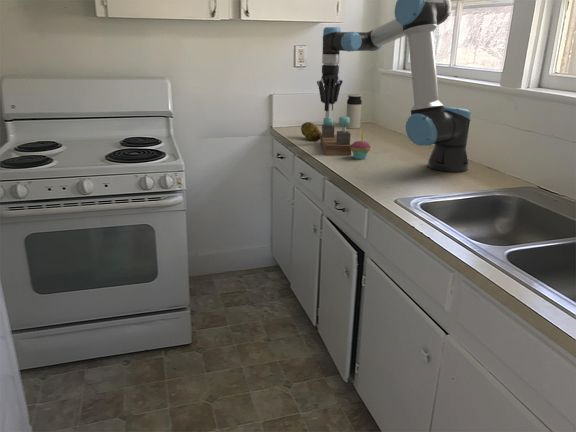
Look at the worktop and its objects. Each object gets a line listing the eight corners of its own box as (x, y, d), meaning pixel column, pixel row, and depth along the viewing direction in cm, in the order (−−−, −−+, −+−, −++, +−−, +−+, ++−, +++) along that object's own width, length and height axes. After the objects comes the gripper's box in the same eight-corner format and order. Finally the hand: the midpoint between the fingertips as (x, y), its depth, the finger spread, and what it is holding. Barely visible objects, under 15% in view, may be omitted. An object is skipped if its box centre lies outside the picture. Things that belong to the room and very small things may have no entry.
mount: (351, 155, 206) (352, 134, 203) (325, 155, 206) (326, 134, 202) (343, 142, 230) (343, 123, 227) (320, 142, 230) (320, 123, 227)
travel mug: (361, 128, 266) (363, 95, 260) (347, 129, 265) (349, 95, 258) (357, 126, 273) (359, 94, 267) (344, 126, 272) (345, 94, 266)
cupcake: (354, 154, 207) (356, 127, 203) (373, 157, 203) (375, 129, 199) (346, 158, 200) (347, 130, 196) (365, 161, 196) (367, 132, 192)
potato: (306, 142, 231) (307, 125, 228) (299, 137, 242) (299, 121, 239) (323, 141, 233) (323, 125, 230) (314, 136, 244) (315, 120, 241)
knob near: (349, 136, 206) (350, 118, 203) (338, 136, 206) (339, 118, 203) (347, 134, 210) (348, 116, 207) (337, 134, 210) (338, 116, 207)
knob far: (333, 136, 222) (334, 119, 219) (323, 136, 222) (324, 119, 219) (332, 134, 226) (332, 117, 223) (322, 134, 226) (323, 117, 223)
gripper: (337, 63, 219) (334, 115, 227) (313, 64, 213) (312, 117, 221) (347, 64, 213) (344, 118, 221) (323, 65, 207) (321, 120, 215)
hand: (328, 118), depth 221 cm, fingers closed
